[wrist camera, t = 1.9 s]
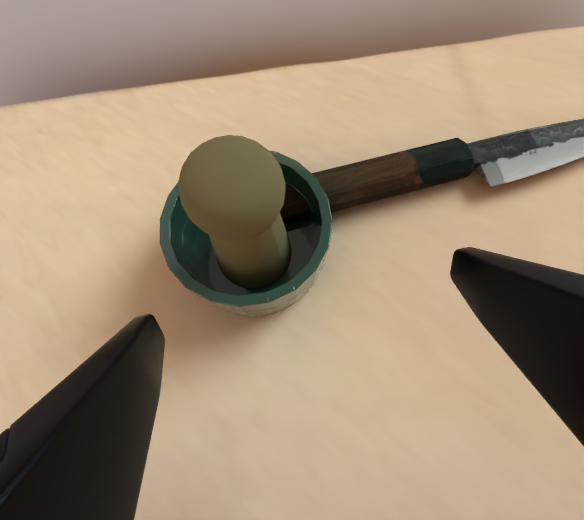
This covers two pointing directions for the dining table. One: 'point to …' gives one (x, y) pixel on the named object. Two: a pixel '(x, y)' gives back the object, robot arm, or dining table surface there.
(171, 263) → the pot
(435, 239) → the dining table surface
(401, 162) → the kitchen knife
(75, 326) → the dining table surface
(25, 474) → the robot arm
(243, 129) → the dining table surface
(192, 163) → the olive pestle
